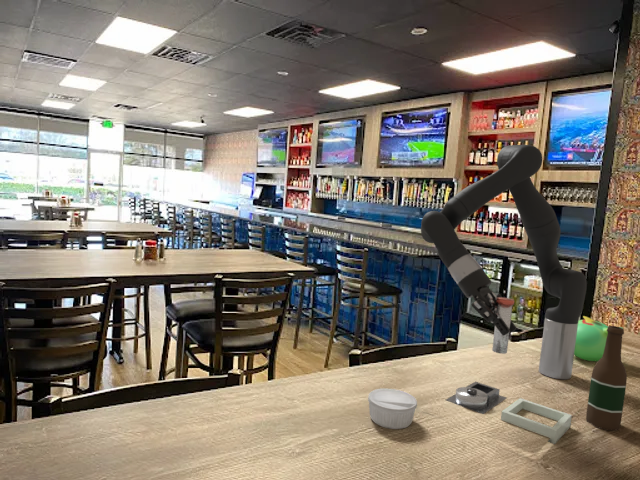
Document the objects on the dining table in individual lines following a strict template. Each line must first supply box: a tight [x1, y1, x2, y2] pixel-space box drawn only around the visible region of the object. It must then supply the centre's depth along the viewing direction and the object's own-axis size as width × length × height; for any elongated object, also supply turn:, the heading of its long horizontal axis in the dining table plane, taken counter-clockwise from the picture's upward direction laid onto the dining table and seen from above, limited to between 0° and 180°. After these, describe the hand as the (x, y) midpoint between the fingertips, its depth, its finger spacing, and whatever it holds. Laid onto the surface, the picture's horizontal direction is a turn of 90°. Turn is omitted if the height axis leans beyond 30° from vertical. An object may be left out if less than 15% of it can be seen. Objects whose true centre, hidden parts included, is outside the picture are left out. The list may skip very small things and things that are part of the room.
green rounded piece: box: [574, 315, 624, 362], centre depth 168 cm, size 18×17×15 cm
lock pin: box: [491, 296, 515, 355], centre depth 121 cm, size 4×4×13 cm
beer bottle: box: [585, 325, 628, 431], centre depth 116 cm, size 8×8×24 cm
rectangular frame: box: [500, 397, 573, 445], centre depth 113 cm, size 12×12×3 cm
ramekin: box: [367, 387, 418, 430], centre depth 110 cm, size 11×11×5 cm
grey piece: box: [445, 381, 507, 415], centre depth 124 cm, size 15×10×4 cm, turn 138°
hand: (510, 332), depth 120 cm, fingers closed on lock pin, 3 cm apart
